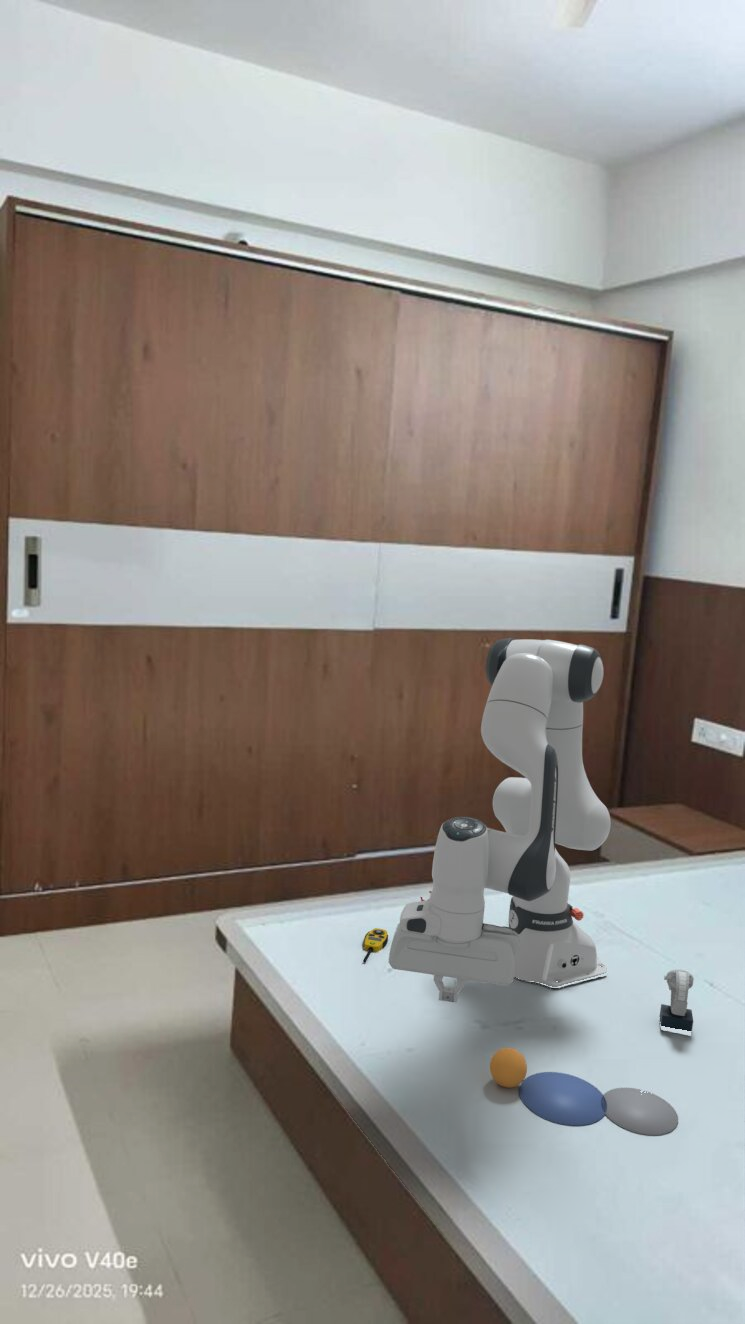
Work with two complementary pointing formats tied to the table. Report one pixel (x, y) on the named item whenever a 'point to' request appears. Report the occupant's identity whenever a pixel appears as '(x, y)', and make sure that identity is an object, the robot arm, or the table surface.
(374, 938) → the remote control
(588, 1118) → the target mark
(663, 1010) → the grey black upright piece
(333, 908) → the table surface
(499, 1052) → the ball
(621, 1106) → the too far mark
